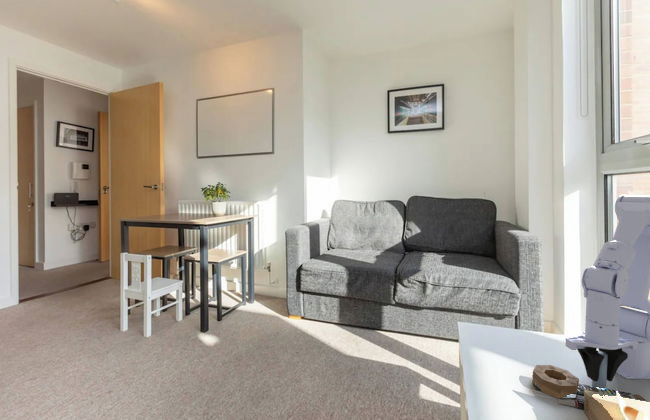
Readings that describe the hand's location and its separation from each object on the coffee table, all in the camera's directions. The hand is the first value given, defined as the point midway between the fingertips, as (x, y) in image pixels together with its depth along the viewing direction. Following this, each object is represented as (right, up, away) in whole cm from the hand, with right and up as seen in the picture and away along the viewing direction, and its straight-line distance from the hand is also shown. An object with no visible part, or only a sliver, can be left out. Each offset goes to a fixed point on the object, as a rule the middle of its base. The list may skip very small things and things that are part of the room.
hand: (599, 378), depth 71 cm
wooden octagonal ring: (-10, -2, 0) cm, 10 cm away
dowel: (0, -2, 0) cm, 2 cm away
